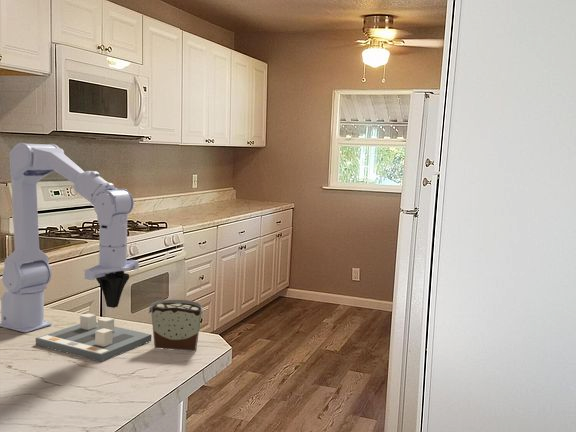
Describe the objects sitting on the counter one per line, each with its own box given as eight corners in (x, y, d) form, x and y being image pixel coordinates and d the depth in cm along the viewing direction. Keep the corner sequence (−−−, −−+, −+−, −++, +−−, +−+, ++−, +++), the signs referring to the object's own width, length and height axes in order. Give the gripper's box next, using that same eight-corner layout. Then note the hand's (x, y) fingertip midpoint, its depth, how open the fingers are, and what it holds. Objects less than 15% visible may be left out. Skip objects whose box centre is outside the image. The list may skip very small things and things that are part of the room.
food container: (208, 343, 137) (210, 301, 136) (202, 352, 131) (203, 307, 130) (156, 339, 138) (157, 297, 137) (147, 347, 132) (148, 304, 131)
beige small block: (80, 328, 138) (80, 315, 138) (88, 325, 140) (88, 313, 140) (88, 330, 137) (88, 317, 137) (96, 327, 139) (96, 314, 139)
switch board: (35, 344, 130) (35, 337, 130) (89, 326, 145) (89, 320, 144) (101, 361, 122) (101, 354, 122) (151, 340, 136) (151, 334, 136)
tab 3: (95, 344, 127) (95, 331, 127) (103, 341, 130) (103, 328, 129) (104, 346, 126) (104, 333, 126) (112, 343, 129) (112, 330, 128)
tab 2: (98, 332, 136) (98, 319, 135) (105, 329, 138) (105, 317, 138) (106, 334, 135) (106, 321, 134) (114, 331, 137) (114, 318, 137)
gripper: (103, 251, 120) (102, 317, 121) (149, 243, 133) (148, 302, 134) (77, 247, 123) (76, 311, 124) (125, 239, 136) (124, 297, 137)
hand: (112, 306), depth 129 cm, fingers closed
